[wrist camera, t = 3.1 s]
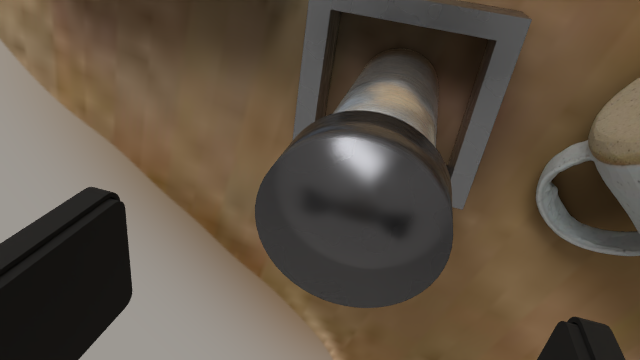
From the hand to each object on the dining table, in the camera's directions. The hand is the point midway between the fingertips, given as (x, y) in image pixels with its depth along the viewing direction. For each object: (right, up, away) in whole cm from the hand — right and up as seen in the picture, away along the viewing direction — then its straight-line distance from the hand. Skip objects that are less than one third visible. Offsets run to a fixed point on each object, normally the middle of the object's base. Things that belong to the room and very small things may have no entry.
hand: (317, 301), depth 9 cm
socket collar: (+4, +7, +13) cm, 15 cm away
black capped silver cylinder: (+4, +7, +13) cm, 15 cm away
